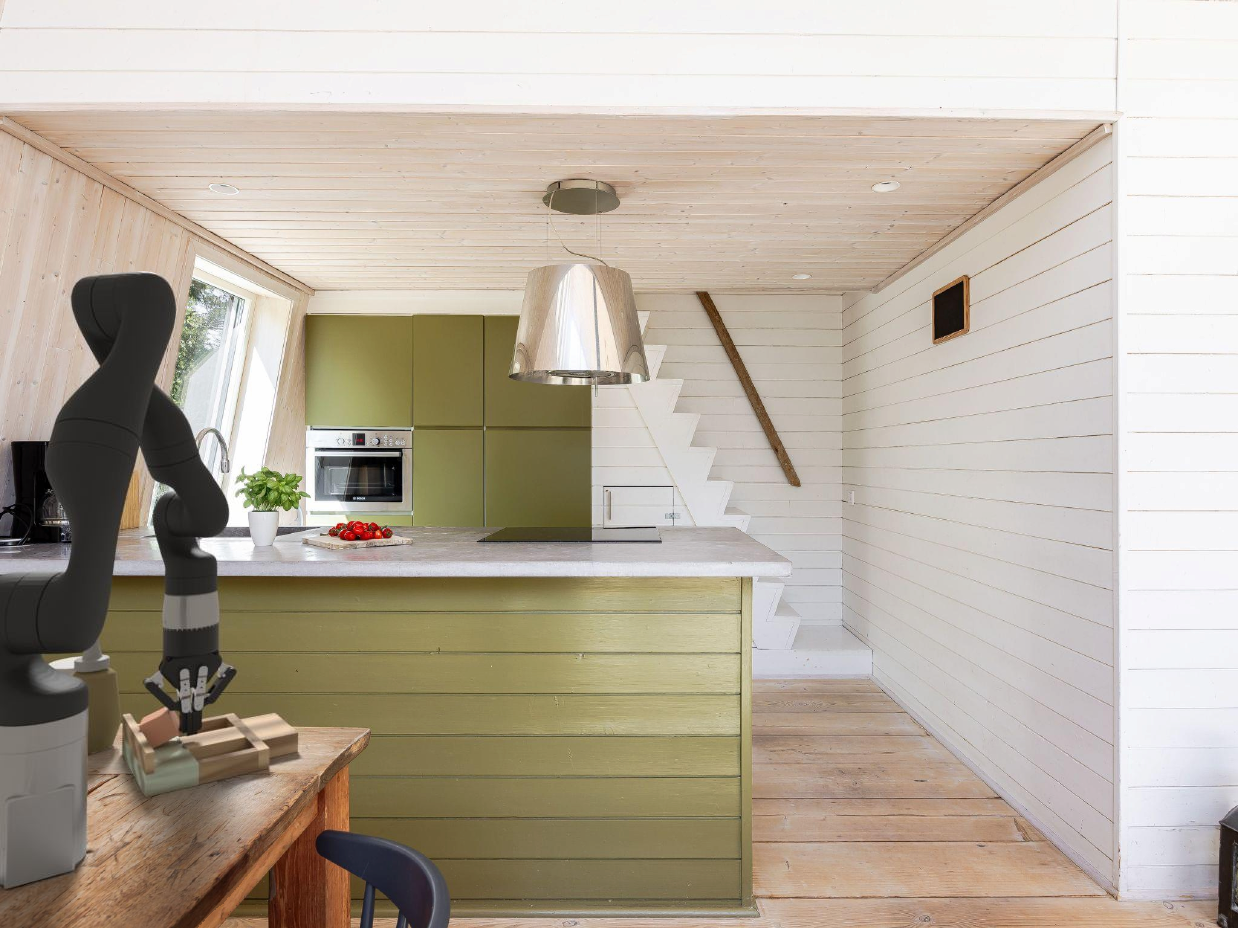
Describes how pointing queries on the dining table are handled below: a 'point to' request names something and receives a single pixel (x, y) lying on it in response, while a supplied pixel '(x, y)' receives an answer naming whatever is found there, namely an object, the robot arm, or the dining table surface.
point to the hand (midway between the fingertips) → (190, 733)
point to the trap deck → (206, 751)
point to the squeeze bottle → (99, 697)
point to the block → (160, 727)
